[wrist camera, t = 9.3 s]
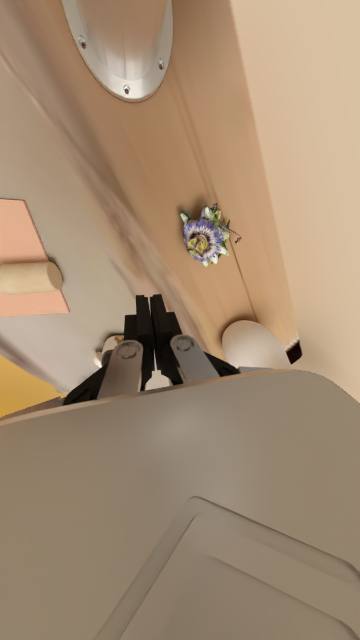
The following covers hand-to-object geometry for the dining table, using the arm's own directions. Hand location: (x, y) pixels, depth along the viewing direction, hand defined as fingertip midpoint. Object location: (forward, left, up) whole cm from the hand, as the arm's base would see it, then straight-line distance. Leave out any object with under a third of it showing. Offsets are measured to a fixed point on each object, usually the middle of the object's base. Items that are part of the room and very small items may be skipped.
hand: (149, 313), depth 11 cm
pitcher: (+34, +34, -29) cm, 56 cm away
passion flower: (-1, +14, -29) cm, 33 cm away
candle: (+7, -16, -26) cm, 31 cm away
